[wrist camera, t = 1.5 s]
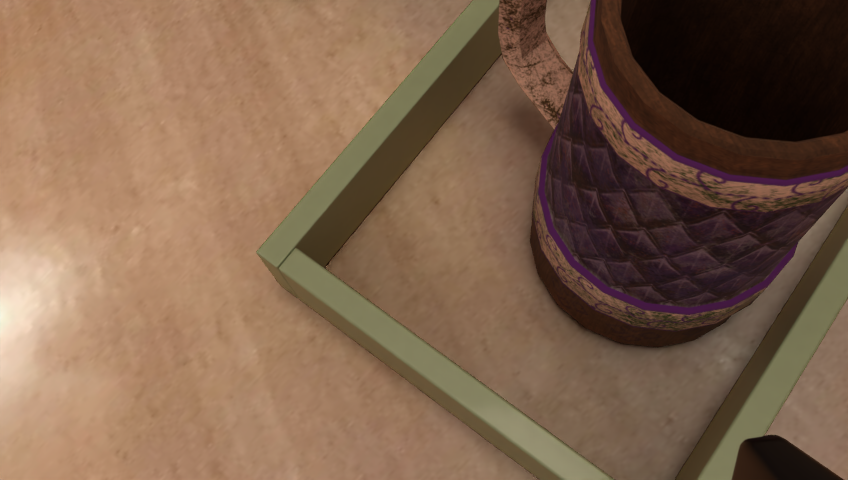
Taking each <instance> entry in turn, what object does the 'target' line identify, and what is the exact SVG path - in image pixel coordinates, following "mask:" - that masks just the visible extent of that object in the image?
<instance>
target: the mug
mask: <svg viewBox="0 0 848 480" xmlns="http://www.w3.org/2000/svg"><path fill="white" fill-rule="evenodd" d="M546 2H547V0H499V25H498V35H499V41H500V46H501V51H502V56H503V60H504V61H505V63H506V64H507V66H508V68H509V69H510V71H511V73H512V74H513V76H514V78H515V79H516V81H517V82H518V84H519V86H520V87H521V88H522V90H523V91H524V92H525V93H526V95H527V96H528V97H529V99H530V100H531V101H532V102H533V104H534V105H535V106H536V107H537V109H538V110H539V111H540V112H541V114H542V115H543V116H544V117H545V119H546V120H547V121H548V122H549V124H550V125H551V126H552V127H553V129H554V132H553V134H552V136H551V138H550V140H549V142H548V144H547V146H546V148H545V151H544V153H543V155H542V157H541V161H540V165H539V168H538V172H537V176H536V181H535V191H534V201H533V212H532V215H533V216H532V226H531V237H530V243H531V247H532V251H533V255H534V259H535V263H536V267H537V271H538V274H539V276H540V278H541V279H542V281H543V282H544V284H545V285H546V287H547V289H548V290H549V292H550V293H551V295H552V297H553V298H554V300H555V301H556V303H557V304H558V305H559V306H560V307H561V308H563V309H564V310H565V311H566V312H567V313H569V314H570V315H571V316H572V317H573V318H574V319H576V320H577V321H578V322H579V323H580V324H581V325H583V326H584V327H585V328H587V329H589V330H592V331H594V332H596V333H599V334H601V335H603V336H605V337H608V338H610V339H612V340H615V341H617V342H619V343H626V344H635V345H643V346H652V347H661V346H666V345H671V344H676V343H682V342H687V341H692V340H695V339H697V338H698V337H700V336H702V335H704V334H705V333H707V332H709V331H711V330H713V329H714V328H716V327H718V326H720V325H721V324H723V323H725V322H726V321H727V319H728V318H729V317H730V316H731V315H732V314H734V313H736V312H738V311H740V310H741V309H743V308H745V307H747V306H748V305H750V304H751V303H752V302H753V301H754V300H755V299H756V298H757V297H758V296H759V295H760V294H761V293H762V292H763V291H764V290H765V289H766V288H767V286H768V285H769V284H770V283H771V282H772V281H773V279H774V278H775V277H776V276H777V275H778V274H779V272H780V271H781V270H782V269H783V268H784V266H785V265H786V264H787V263H788V262H789V261H790V259H791V258H792V257H793V256H794V253H795V250H796V247H797V244H798V241H799V240H800V239H801V238H802V237H803V236H804V235H805V234H806V232H807V231H808V230H809V229H810V228H811V227H812V226H813V225H814V224H815V223H816V221H817V220H818V219H819V218H820V217H821V216H822V215H823V214H824V213H825V212H826V210H827V209H828V208H829V207H830V206H831V205H832V204H833V203H834V202H835V201H836V199H837V198H838V197H839V196H840V195H841V194H842V193H843V192H844V191H845V190H846V188H847V187H848V0H591V2H590V5H589V8H588V12H587V15H586V18H585V21H584V25H583V28H582V31H581V39H580V51H579V55H578V58H577V61H576V65H575V68H574V72H572V71H571V69H570V68H569V67H568V66H567V65H566V63H565V62H564V61H563V60H562V58H561V57H560V55H559V53H558V52H557V50H556V48H555V47H554V45H553V43H552V41H551V40H550V38H549V36H548V35H547V33H546V27H545V10H546Z"/></svg>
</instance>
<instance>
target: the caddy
mask: <svg viewBox="0 0 848 480" xmlns="http://www.w3.org/2000/svg"><path fill="white" fill-rule="evenodd" d="M498 25H499V0H473V1H472V2H471V3H470V4H469V5H468V6H467V8H466V9H465V10H464V11H463V12H462V13H461V15H460V16H459V17H458V18H457V19H456V20H455V22H454V23H453V24H452V25H451V26H450V27H449V29H448V30H447V31H446V32H445V33H444V34H443V36H442V37H441V38H440V39H439V40H438V41H437V42H436V44H435V45H434V46H433V47H432V48H431V49H430V51H429V52H428V53H427V54H426V55H425V56H424V58H423V59H422V60H421V61H420V62H419V63H418V65H417V66H416V67H415V68H414V69H413V70H412V72H411V73H410V74H409V75H408V76H407V77H406V79H405V80H404V81H403V82H402V83H401V84H400V85H399V87H398V88H397V89H396V90H395V91H394V92H393V94H392V95H391V96H390V97H389V98H388V99H387V101H386V102H385V103H384V104H383V105H382V106H381V108H380V109H379V110H378V111H377V112H376V113H375V115H374V116H373V117H372V118H371V119H370V120H369V122H368V123H367V124H366V125H365V126H364V127H363V128H362V130H361V131H360V132H359V133H358V134H357V135H356V137H355V138H354V139H353V140H352V141H351V142H350V144H349V145H348V146H347V147H346V148H345V149H344V151H343V152H342V153H341V154H340V155H339V156H338V158H337V159H336V160H335V161H334V162H333V163H332V164H331V166H330V167H329V168H328V169H327V170H326V171H325V173H324V174H323V175H322V176H321V177H320V178H319V180H318V181H317V182H316V183H315V184H314V185H313V187H312V188H311V189H310V190H309V191H308V192H307V194H306V195H305V196H304V197H303V198H302V199H301V201H300V202H299V203H298V204H297V205H296V206H295V207H294V209H293V210H292V211H291V212H290V213H289V214H288V216H287V217H286V218H285V219H284V220H283V221H282V223H281V224H280V225H279V226H278V227H277V228H276V230H275V231H274V232H273V233H272V234H271V235H270V237H269V238H268V239H267V240H266V241H265V242H264V243H263V245H262V246H261V247H260V248H259V249H258V250H257V252H256V253H257V254H258V256H259V257H260V258H261V260H262V261H263V262H264V264H265V265H266V267H267V268H268V269H269V271H270V272H271V273H272V275H273V276H274V277H275V279H276V280H277V281H278V283H279V284H280V285H281V286H282V287H283V288H285V289H286V290H287V291H289V292H290V293H291V294H293V295H294V296H295V297H297V298H299V299H300V300H301V301H302V302H304V303H305V304H306V305H308V306H309V307H310V308H312V309H313V310H314V311H316V312H317V313H318V314H320V315H321V316H322V317H324V318H325V319H326V320H328V321H329V322H330V323H332V324H333V325H334V326H336V327H337V328H338V329H340V330H341V331H342V332H344V333H345V334H346V335H348V336H349V337H350V338H352V339H353V340H354V341H356V342H357V343H358V344H360V345H361V346H362V347H364V348H365V349H366V350H368V351H369V352H370V353H372V354H373V355H374V356H376V357H377V358H378V359H380V360H381V361H382V362H384V363H385V364H386V365H388V366H389V367H390V368H392V369H393V370H394V371H396V372H397V373H398V374H400V375H401V376H402V377H404V378H405V379H406V380H408V381H409V382H410V383H412V384H413V385H414V386H416V387H417V388H418V389H420V390H421V391H422V392H424V393H425V394H426V395H428V396H429V397H430V398H432V399H433V400H434V401H436V402H437V403H438V404H440V405H441V406H442V407H444V408H445V409H446V410H448V411H449V412H450V413H452V414H453V415H454V416H456V417H457V418H458V419H460V420H461V421H462V422H464V423H465V424H466V425H468V426H469V427H470V428H472V429H473V430H474V431H476V432H477V433H478V434H480V435H481V436H482V437H484V438H485V439H486V440H488V441H489V442H490V443H492V444H493V445H494V446H496V447H497V448H498V449H500V450H501V451H502V452H504V453H505V454H506V455H508V456H509V457H510V458H512V459H513V460H514V461H516V462H517V463H518V464H520V465H521V466H522V467H524V468H525V469H526V470H528V471H529V472H530V473H532V474H533V475H534V476H536V477H537V478H538V479H540V480H615V479H613V478H612V477H611V476H609V475H608V474H606V473H605V472H604V471H602V470H601V469H600V468H598V467H597V466H595V465H594V464H593V463H591V462H590V461H589V460H587V459H586V458H585V457H583V456H582V455H580V454H579V453H578V452H576V451H575V450H574V449H572V448H571V447H569V446H568V445H567V444H565V443H564V442H563V441H561V440H560V439H558V438H557V437H556V436H554V435H553V434H552V433H550V432H549V431H547V430H546V429H545V428H543V427H542V426H541V425H539V424H538V423H537V422H535V421H534V420H532V419H531V418H530V417H528V416H527V415H526V414H524V413H523V412H521V411H520V410H519V409H517V408H516V407H515V406H513V405H512V404H510V403H509V402H508V401H506V400H505V399H504V398H502V397H501V396H499V395H498V394H497V393H495V392H494V391H493V390H491V389H490V388H488V387H487V386H486V385H484V384H483V383H482V382H480V381H479V380H478V379H476V378H475V377H473V376H472V375H471V374H469V373H468V372H467V371H465V370H464V369H462V368H461V367H460V366H458V365H457V364H456V363H454V362H453V361H451V360H450V359H449V358H447V357H446V356H445V355H443V354H442V353H440V352H439V351H438V350H436V349H435V348H434V347H432V346H431V345H429V344H428V343H427V342H425V341H424V340H423V339H421V338H420V337H419V336H417V335H416V334H414V333H413V332H412V331H410V330H409V329H408V328H406V327H405V326H403V325H402V324H401V323H399V322H398V321H397V320H395V319H394V318H392V317H391V316H390V315H388V314H387V313H386V312H384V311H383V310H381V309H380V308H379V307H377V306H376V305H375V304H373V303H372V302H371V301H369V300H368V299H366V298H365V297H364V296H362V295H361V294H360V293H358V292H357V291H355V290H354V289H353V288H351V287H350V286H349V285H347V284H346V283H344V282H343V281H342V280H340V279H339V278H338V277H336V276H335V275H333V274H332V273H331V272H329V271H328V270H327V269H325V268H324V267H325V266H326V265H327V263H328V262H329V261H330V260H331V258H332V257H333V256H334V255H335V254H336V252H337V251H338V250H339V249H340V248H341V246H342V245H343V244H344V243H345V242H346V240H347V239H348V238H349V237H350V236H351V234H352V233H353V232H354V231H355V229H356V228H357V227H358V226H359V225H360V223H361V222H362V221H363V220H364V219H365V217H366V216H367V215H368V214H369V213H370V211H371V210H372V209H373V208H374V207H375V205H376V204H377V203H378V202H379V200H380V199H381V198H382V197H383V196H384V194H385V193H386V192H387V191H388V190H389V188H390V187H391V186H392V185H393V184H394V182H395V181H396V180H397V179H398V178H399V176H400V175H401V174H402V173H403V171H404V170H405V169H406V168H407V167H408V165H409V164H410V163H411V162H412V161H413V159H414V158H415V157H416V156H417V155H418V153H419V152H420V151H421V150H422V149H423V147H424V146H425V145H426V144H427V143H428V141H429V140H430V139H431V138H432V136H433V135H434V134H435V133H436V132H437V130H438V129H439V128H440V127H441V126H442V124H443V123H444V122H445V121H446V120H447V118H448V117H449V116H450V115H451V114H452V112H453V111H454V110H455V109H456V107H457V106H458V105H459V104H460V103H461V101H462V100H463V99H464V98H465V97H466V95H467V94H468V93H469V92H470V91H471V89H472V88H473V87H474V86H475V85H476V83H477V82H478V81H479V80H480V78H481V77H482V76H483V75H484V74H485V72H486V71H487V70H488V69H489V68H490V66H491V65H492V64H493V63H494V62H495V60H496V59H497V58H498V57H499V56H500V54H501V53H502V51H501V46H500V41H499V35H498ZM847 299H848V206H847V208H846V209H845V211H844V213H843V214H842V216H841V217H840V219H839V220H838V222H837V224H836V225H835V227H834V228H833V230H832V232H831V233H830V235H829V236H828V238H827V239H826V241H825V243H824V244H823V246H822V247H821V249H820V251H819V252H818V254H817V255H816V257H815V258H814V260H813V262H812V263H811V265H810V266H809V268H808V270H807V271H806V273H805V274H804V276H803V278H802V279H801V281H800V282H799V284H798V285H797V287H796V289H795V290H794V292H793V293H792V295H791V297H790V298H789V300H788V301H787V303H786V304H785V306H784V308H783V309H782V311H781V312H780V314H779V316H778V317H777V319H776V320H775V322H774V323H773V325H772V327H771V328H770V330H769V331H768V333H767V335H766V336H765V338H764V339H763V341H762V342H761V344H760V346H759V347H758V349H757V350H756V352H755V354H754V355H753V357H752V358H751V360H750V361H749V363H748V365H747V366H746V368H745V369H744V371H743V373H742V374H741V376H740V377H739V379H738V380H737V382H736V384H735V385H734V387H733V388H732V390H731V392H730V393H729V395H728V396H727V398H726V400H725V401H724V403H723V404H722V406H721V407H720V409H719V411H718V412H717V414H716V415H715V417H714V419H713V420H712V422H711V423H710V425H709V426H708V428H707V430H706V431H705V433H704V434H703V436H702V438H701V439H700V441H699V442H698V444H697V445H696V447H695V449H694V450H693V452H692V453H691V455H690V457H689V458H688V460H687V461H686V463H685V464H684V466H683V468H682V469H681V471H680V472H679V474H678V476H677V477H676V479H675V480H731V479H732V475H733V471H734V467H735V463H736V458H737V454H738V450H739V447H740V444H741V443H742V442H743V441H744V440H746V439H749V438H755V437H761V436H764V435H765V434H766V432H767V430H768V429H769V427H770V425H771V424H772V422H773V420H774V419H775V417H776V416H777V414H778V412H779V411H780V409H781V407H782V406H783V404H784V402H785V401H786V399H787V397H788V396H789V394H790V393H791V391H792V389H793V388H794V386H795V384H796V383H797V381H798V379H799V378H800V376H801V374H802V373H803V371H804V369H805V368H806V366H807V365H808V363H809V361H810V360H811V358H812V356H813V355H814V353H815V351H816V350H817V348H818V346H819V345H820V343H821V342H822V340H823V338H824V337H825V335H826V333H827V332H828V330H829V328H830V327H831V325H832V323H833V322H834V320H835V318H836V317H837V315H838V314H839V312H840V310H841V309H842V307H843V305H844V304H845V302H846V300H847Z"/></svg>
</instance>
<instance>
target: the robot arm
mask: <svg viewBox="0 0 848 480" xmlns="http://www.w3.org/2000/svg"><path fill="white" fill-rule="evenodd" d="M731 480H843V479H842V478H841V477H839V476H838V475H836V474H835V473H833V472H832V471H830V470H829V469H828V468H826V467H825V466H823V465H822V464H820V463H819V462H817V461H816V460H815V459H813V458H812V457H810V456H809V455H807V454H806V453H804V452H803V451H802V450H800V449H799V448H797V447H796V446H794V445H793V444H791V443H790V442H789V441H787V440H786V439H784V438H782V437H780V436H777V435H767V436H761V437H755V438H749V439H746V440H744V441H743V442H742V443H741V444H740V447H739V450H738V454H737V458H736V463H735V467H734V471H733V475H732V479H731Z"/></svg>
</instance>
